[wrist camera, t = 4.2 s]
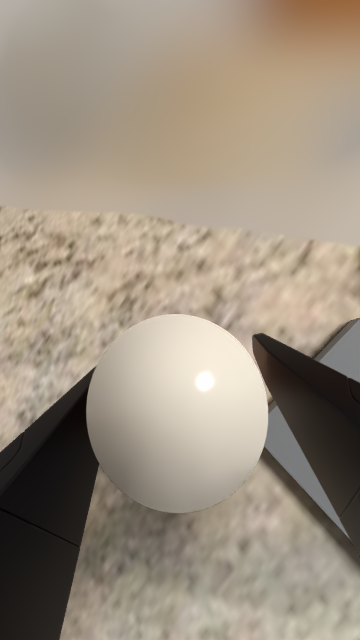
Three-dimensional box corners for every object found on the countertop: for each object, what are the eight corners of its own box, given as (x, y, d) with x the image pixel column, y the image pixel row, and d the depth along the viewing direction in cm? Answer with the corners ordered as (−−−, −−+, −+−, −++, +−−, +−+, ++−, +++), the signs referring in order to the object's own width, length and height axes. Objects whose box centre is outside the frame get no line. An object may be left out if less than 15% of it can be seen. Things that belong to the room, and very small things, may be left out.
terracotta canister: (192, 426, 14) (165, 566, 4) (150, 376, 15) (55, 395, 5) (238, 380, 14) (312, 410, 5) (194, 334, 15) (176, 282, 6)
